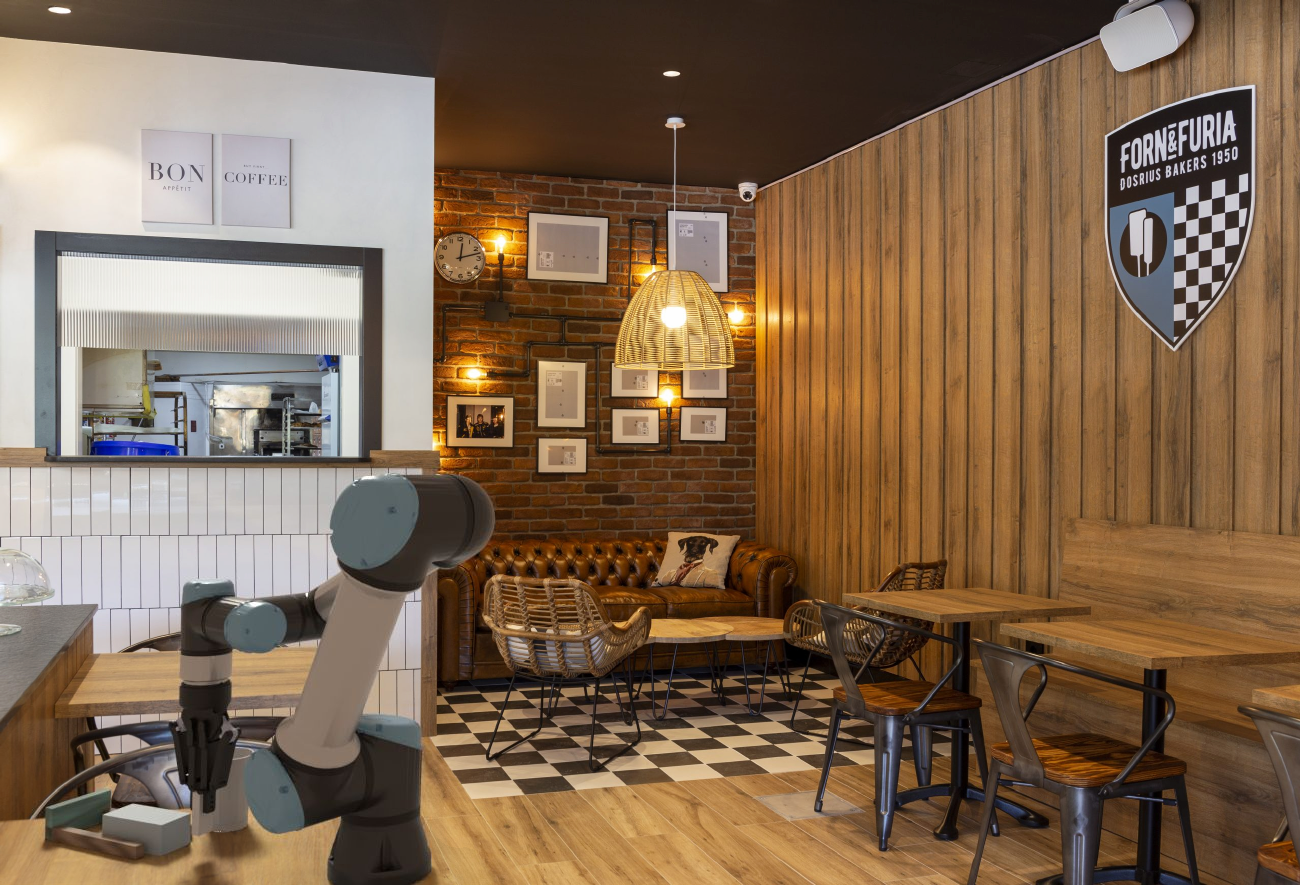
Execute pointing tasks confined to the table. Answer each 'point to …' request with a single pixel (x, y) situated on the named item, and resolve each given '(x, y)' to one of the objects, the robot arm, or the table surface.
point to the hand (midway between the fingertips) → (201, 832)
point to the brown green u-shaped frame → (88, 825)
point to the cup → (232, 797)
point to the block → (149, 827)
